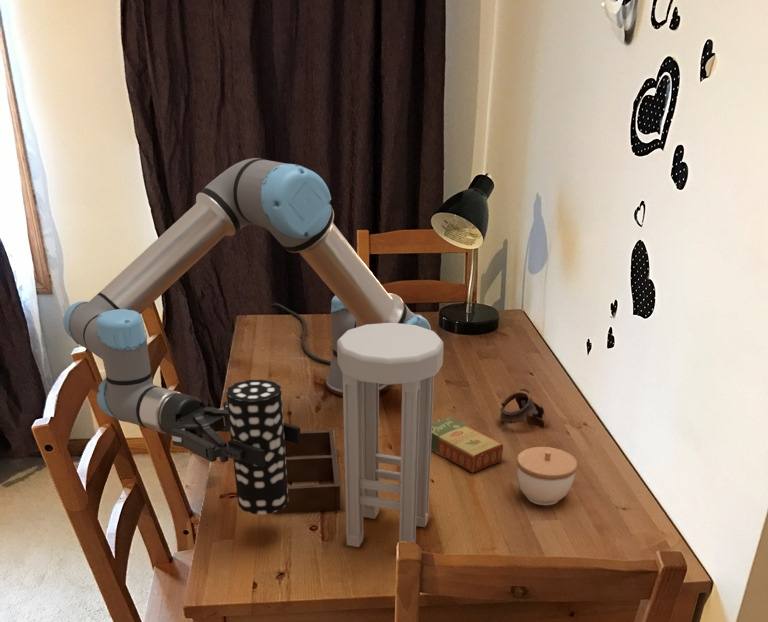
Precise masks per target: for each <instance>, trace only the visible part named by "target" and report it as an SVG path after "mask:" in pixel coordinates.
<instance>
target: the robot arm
mask: <svg viewBox="0 0 768 622" xmlns="http://www.w3.org/2000/svg"><path fill="white" fill-rule="evenodd" d="M195 197H196V198H195V204H193V206H192V207H191V208H189V210H187V211H186V212H184V214H183V215H182V216H181V217H180V218H178V220H176V222H174V223H173V224H171V226H169V228H168V229H166V230H165V231H164V232H163V233H162V234H160V236H159V237H158V238H157V239H156V240H154V241H153V242H152V243H151V244H150V245H149V246H148V247H147V248H146V249H145V250H144V251H142V253H140V255H138V256H137V257H136V258H135V259H133V260H132V262H131V263H129V264H128V265H127V266H126V267H125V268H124V269H123V270H122V271H121V272H119V274H117V275H116V277H114V278H113V279H112V280H111V281H110V282H109V283H107V285H105V286H104V287H103V288H102V289H100V291H99V292H98V293H97V294H96V295H95V296H94V297H92V298H91V299H90V300H88V301H86V300H84V301H81V300H80V301H76V302H74V303H72V304H71V305H69V306H68V307H67V309H66V310H65V311H64V315H63V320H62V324H63V329H64V331H65V332H66V334H67V335H68V336H69V337H70V338H71V339H72V340H73V342H75V344H77V345H79V346H81V348H82V347H83V348H85V349H86V350H88V351H90V352H91V353H92V354H93V355H95V356H97V358H99V359H101V360H102V364H103V367H104V372H105V378H104V379H103V380H102V381H101V382H100V384H99V386H98V388H97V389H98V392H97V394H96V403H97V405H98V407H99V408H100V410H101V411H102V412H103V413H104V414H106V415H107V416H110V417H112V418H114V419H116V420H117V421H120V422H123V423H129V424H134V425H136V426H140V427H143V428H145V429H149V430H153V431H155V432H157V433H161V434H164V435H167V436H170V437H171V440H172V441H171V442H172V445H173V446H175V447H181V448H184V449H186V450H188V451H190V452H192V453H193V454H195V455H198V456H199V457H201V458H203V459H205V460H207V461H208V462H210V463H213V462H216V461H217V460H218V459H217V458H220V462H221V463H227V462H229V459H235V460H240V461H244V462H247V463H250V464H253V465H257V466H260V467H264V466H265V465H266V464H265V452H264V450H263V449H260V448H257V447H254V446H250V445H247V444H244V443H241V442H238V441H234V440H231V439H229V440H228V441H226V440H225V439H224V438H223V437H222V436H221V435H220V434H219V433H217V432H221V433H222V432H223V433H224V432H225V433H228V432H229V433H230V432H231V431H230V421H229V412H228V402H227V400H225V401H224V402H222V404H223V406H222V407H220V408H217V407H209V406H206V404H204V402H203V401H202V400H201V399H200V398H199V397H196V396H193V395H189V394H187V393H183V392H179V391H177V390H173V389H169V388H166V387H161V386H159V385H155V384H154V380H153V374H152V368H151V362H150V355H149V353H150V352H149V349H148V348H149V347H148V334H147V331H146V329H145V323H144V320H143V317H142V315H141V314H143V312H145V311H146V310H147V309H148V308H149V307H150V306H151V305H152V304H153V303H154V302H155V301H157V300H158V299H159V298H161V296H162V295H163V294H164V293H165V292H167V290H168V289H169V288H171V287H172V286H173V285H174V284H175V283H176V282H177V281H178V280H179V279H180V278H181V277H182V276H183V275H184V274H186V272H188V271H189V270H190V269H191V268H192V267H193V266H194V265H195V264H197V262H198V261H199V260H201V259H202V258H203V257H204V256H205V255H206V254H207V253H208V252H209V251H210V250H212V249H213V247H215V246H216V245H217V244H218V243H219V242H220V241H221V240H222V239H223V238H224V237H233V236H235V235H236V234H237V233H238V232H239V231H240V230H241V229H243V228H245V227H247V226H250V225H255V226H258V227H261V228H264V229H266V230H267V231H268V232H269V233H270V234H271V235H272V236H273V237H274V238H275V239H276V240H277V241H278V243H279V244H280V245H281V246H282V247H283V248H284V249H285V251H287V252H288V253H292V254H296V253H298V254H299V255H300V256H301V257H302V258H303V260H304V261H305V262H306V263H307V264H308V265H309V267H311V269H312V270H313V271H314V272H315V274H316V275H317V276H318V277H319V278H320V279H321V280H322V281H323V283H324V284H325V285H326V286H327V287H328V288H329V290H330V291H331V292H332V293H333V294H334V296H333V297H332V299H331V301H330V302H331V304H330V305H331V306H330V311H329V313H330V319H331V320H330V323H331V346H332V357H331V360H327V359H324V358H320V357H319V356H316V355H314V354H312V353H311V352H310V351H309V350H308V348H307V346H306V334H307V324H306V321H305V319H304V318H303V317H302V316H301V315H300V314H299V313H298V312H297V313H296V312H295V311H293V310H291V309H289V308H287V307H286V306H284V305H283V304H280V303H277V302H275V303H272V304H271V305H270V309H274V308H275V307H279V308H281V309H282V310H284V311H286V312H287V313H289V314H290V315H293V316H294V317H296V318H297V319H299V320H300V322H301V323H302V334H301V346H302V348H303V351H304V352H305V354H306V355H307V356H308V357H310V358H311V359H313V360H315V361H316V362H320V363H323V364H326V365H329V370H328V372H327V374H326V377H325V387H326V389H327V390H328V391H329V392H330V393H332V394H333V395H336V396H339V397H343V373H342V371H341V369H340V367H339V365H338V359H337V341H338V340H339V339H340V338H341V337H342V336H343V335H344V334H345V333H346V332H347V331H348V330H350V329H354V328H357V327H360V326H364V325H367V324H380V323H400V324H409V325H417V326H419V327H422V328H425V329H428V330H431V331H432V329H431V325H430V322H429V321H428V320H427V319H426V318H425V317H423V316H422V315H421V314H415V313H414V312H412V311H411V309H409V307H408V306H407V304H406V303H405V302H404V301H403V299H402V298H401V297H400V295H397V294H395V293H390V292H389V293H388V292H387V291H386V289H385V288H384V287H383V285H382V284H381V282H380V281H379V280H378V279H377V278H376V277H375V275H374V274H373V272H372V271H371V270H370V269H369V268H368V266H367V265H366V263H365V262H364V261H363V260H362V258H361V257H360V256H359V253H357V252H356V250H355V249H354V248H353V247H352V245H351V244H350V243H349V242H348V240H347V239H346V238H345V236H344V235H343V233H342V232H341V231H340V230H339V228H338V227H337V226H336V225H335V223H334V219H335V212H334V209H333V207H332V205H331V200H332V196H331V192H330V190H329V187H328V185H327V184H326V182H325V181H324V179H323V178H322V177H321V176H320V175H319V174H318V173H316V172H315V171H313V170H311V169H309V168H307V167H304V166H303V165H300V164H295V163H294V164H293V163H285V162H281V161H280V162H279V161H274V160H268V159H264V158H261V157H253V158H247V159H244V160H241V161H239V162H236V163H235V164H233V165H231V166H229V167H228V168H227V169H225V170H224V171H223V172H221V173H220V174H219V175H218V176H216V177H215V178H214V179H213V180H211V181H210V182H209V183H207V185H206V186H205V187H203V188H202V189H201V190H200V191H199V192H198V193H197V194H196V196H195ZM389 385H390V384H380V383H379V395H380V394H382V393H384V392H386V391H387V390H388V389H389ZM283 424H284V439H285V440H286V441H290V442H293V443H296V444H299V443H300V442H301V438H300V431H301V427H300V426H298V425H294V424H292V423H291V424H290V423H287V422H284V421H283Z"/></svg>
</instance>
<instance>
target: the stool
mask: <svg viewBox="0 0 768 622" xmlns="http://www.w3.org/2000/svg"><path fill="white" fill-rule="evenodd" d="M444 347H445V345H444V341H443V340H442V338H440V336H439V335H438V334H437V333H436V332H435V331H434V330H432V329H431V330H428V329H425V328H422V327H419V326H417V325H409V324H400V323H380V324H367V325H364V326H360V327H357V328H354V329H350V330H348V331H347V332H346V333H345V334H344V335H343V336H342V337H341V338H340V339H339V340H338V341H337V359H338V365H339V367H340V369H341V371H342V373H343V396H342V403H343V404H342V405H343V407H342V409H343V410H342V411H343V442H344V443H343V447H344V448H343V449H344V452H343V453H344V487H345V493H344V494H345V530H346V533H345V534H346V535H345V537H346V546H351V547H355V548H360V547H361V544H362V543H363V541H364V518H368V519H373V520H376V518H377V516H378V514H379V513H380V509H379V508H383V509H390V510H393V511H399V533H398V535H399V536H398V543H399V542H400V541H407V542H415V543H417V542H416V540H417V539H416V537H417V527H421V528H426V526H427V524H428V522H429V510H430V509H429V508H430V507H429V506H430V487H431V485H430V484H431V462H432V461H431V460H432V450H431V439H432V424H433V415H434V412H433V411H434V387H435V385H434V384H435V376H437V375H438V373H439V372H440V369H441V368H442V366H443V365H444ZM379 383H380V384H389V385H400V384H401V422H400V423H401V425H400V428H401V431H400V456H397V455H391V454H390V455H389V454H382V453H380V394H379ZM380 464H385V465H393V466H398V467H400V471H399V472H398V471H391V470H386V469H380ZM380 479H383V480H387V481H394V482H400V483H399V484H397V483H393V482H392V483H390V482H385V481H380ZM380 492H384V493H391V494H396V495H399V500H396V499H389V498H382V497H380Z"/></svg>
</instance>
